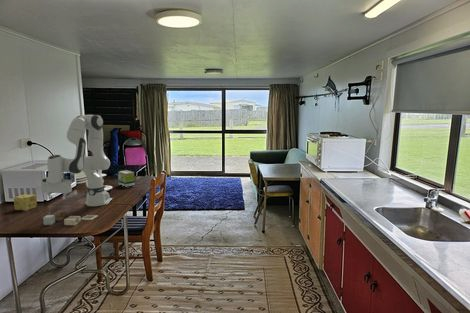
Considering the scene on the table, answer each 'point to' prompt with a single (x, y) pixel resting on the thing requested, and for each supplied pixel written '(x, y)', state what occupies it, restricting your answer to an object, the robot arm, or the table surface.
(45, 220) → the grey cube
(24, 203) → the cheese
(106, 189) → the candlestick
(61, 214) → the walnut cube
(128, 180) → the tea box
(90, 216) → the swatch
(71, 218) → the oak base block
